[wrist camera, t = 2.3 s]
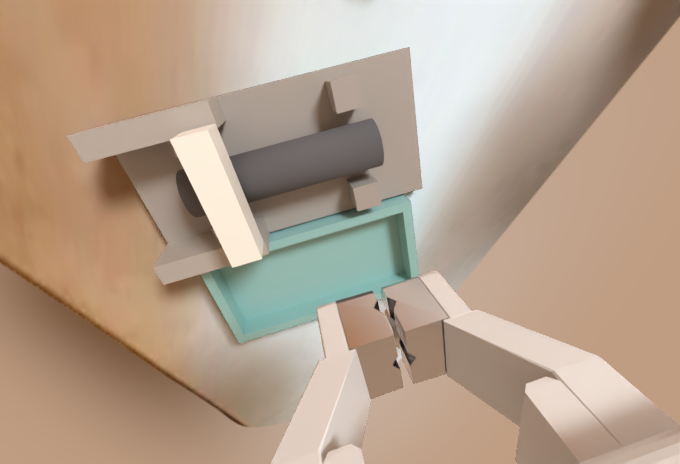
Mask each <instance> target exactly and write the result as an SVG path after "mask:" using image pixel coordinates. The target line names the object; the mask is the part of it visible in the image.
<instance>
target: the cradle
mask: <svg viewBox="0 0 680 464" xmlns="http://www.w3.org/2000/svg"><path fill="white" fill-rule="evenodd" d="M370 118H372V119H373V120H374V121H375V123H376V124H377V127H378V129H379V132H380V135H381V139H382V143H383V150H384V162H383V165H382V166H379V167H375V168H372V169H368V170H365V171H361V172H357V173H354V174H350V175H347V176H343V177H340V178H336V179H333V180H329V181H326V182H322V183H318V184H315V185H311V186H308V187H304V188H301V189H297V190H294V191H290V192H287V193H283V194H279V195H276V196H272V197H269V198H265V199H262V200H258V201H255V202H251V203H248V205H249V207H250V210H251V212H252V214H253V217H254V219H255V222H256V224H257V227H258V229H259V232H260V234H261V237H262V239H263V254H262V256H264V255H267V254H269V236H270V232H273V231H277V230H280V229H284V228H287V227H290V226H294V225H297V224H301V223H304V222H308V221H311V220H315V219H318V218H321V217H325V216H328V215H332V214H335V213H339V212H342V211H346V210H349V209H353V208H356V209H357V211H362V210H365V209H368V208H372V207H375V206H379V205H382V204H381V200H384V199H387V198H390V197H394V196H397V195H401V194H404V193H408V192H411V191H415V190H418V189H421V188H422V180H421V169H420V158H419V147H418V136H417V125H416V114H415V103H414V92H413V81H412V70H411V59H410V48H409V47H408V48H403V49H399V50H396V51H392V52H388V53H384V54H380V55H376V56H372V57H368V58H364V59H360V60H356V61H352V62H349V63H345V64H341V65H337V66H333V67H329V68H325V69H321V70H317V71H313V72H309V73H305V74H302V75H298V76H294V77H290V78H286V79H282V80H278V81H274V82H270V83H266V84H262V85H258V86H255V87H251V88H247V89H243V90H239V91H235V92H231V93H227V94H223V95H219V96H215V97H211V98H207V99H204V100H200V101H196V102H192V103H188V104H184V105H180V106H176V107H172V108H168V109H164V110H160V111H157V112H153V113H149V114H145V115H141V116H137V117H133V118H129V119H125V120H121V121H117V122H113V123H110V124H106V125H102V126H99V127H95V128H92V129H88V130H85V131H81V132H78V133H75V134H71V135H68V136H67V138H68V139H69V141H70V142H71V144H72V145H73V147H74V148H75V150H76V151H77V153H78V154H79V156H80V158H81V159H82V161H83V162H84V163H87V162H90V161H94V160H98V159H102V158H106V157H109V156H113V155H116V157H117V159H118V160H119V162H120V164H121V165H122V167H123V169H124V170H125V172H126V174H127V175H128V177H129V179H130V181H131V182H132V184H133V186H134V187H135V189H136V191H137V192H138V194H139V196H140V197H141V199H142V201H143V202H144V204H145V206H146V208H147V209H148V211H149V213H150V214H151V216H152V218H153V219H154V221H155V223H156V224H157V226H158V228H159V229H160V231H161V233H162V235H163V236H164V238H165V240H166V241H167V243H168V244H167V246H166V247H165V249H164V251H163V252H162V254H161V255H160V257H159V259H158V260H157V262H156V263H155V265H154V267H153V269H154V271H155V272H156V274H157V275H158V277H159V279H160V280H161V282H162V283H163V285H166V284H169V283H173V282H176V281H179V280H183V279H186V278H189V277H193V276H196V275H200V274H203V273H206V272H210V271H213V270H217V269H220V268H223V267H227V266H230V265H231V264H230V262H229V260H228V258H227V256H226V254H225V252H224V250H223V248H222V246H221V244H220V242H219V239H218V237H217V235H216V233H215V231H214V229H213V227H212V225H211V223H210V221H209V219H208V217H207V215H205V216H201V217H198V218H196V217H194V216H192V215H191V214H190V213H189V211H188V210H187V209H186V207H185V205H184V204H183V202H182V200H181V197H180V195H179V192H178V188H177V184H176V173H177V171H178V170H181V169H184V168H183V166H182V164H181V162H180V160H179V158H178V156H177V154H176V152H175V150H174V148H173V146H172V144H171V142H170V139H172V138H173V137H175V136H177V135H178V134H180V133H181V132H184V131H188V130H192V129H196V128H200V127H203V126H207V125H211V124H215V123H216V126H217V128H218V131H219V133H220V136H221V138H222V141H223V143H224V145H225V148H226V150H227V153H228V155H229V156H233V155H237V154H240V153H244V152H248V151H252V150H255V149H259V148H263V147H266V146H270V145H274V144H278V143H281V142H285V141H289V140H292V139H296V138H300V137H303V136H307V135H311V134H315V133H318V132H322V131H326V130H329V129H333V128H337V127H340V126H344V125H348V124H352V123H355V122H359V121H363V120H366V119H370Z"/></svg>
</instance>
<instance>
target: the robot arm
mask: <svg viewBox="0 0 680 464" xmlns="http://www.w3.org/2000/svg"><path fill="white" fill-rule="evenodd" d="M381 296H382V300H383V302H384V305H385V307H386V310H385V315H384V313H382V312H380V310H379V305H378V301H377V298H376V296H375V294H374V292H373V291H369V292H365V293H362V294H358V295H355V296H351V297H348V298H344V299H341V300H337V301H336V302H331V303H328V304H324V305H321V306H317V309H316V312H317V317H318V323H319V328H320V334H321V339H322V345H323V350H324V355H325V359H322V360H319V362H318V364H317V366H316V368H315V370H314V372H313V374H312V376H311V379H310V381H309V383H308V385H307V387H306V389H305V391H304V394H303V396H302V398H301V400H300V402H299V404H298V406H297V408H296V411H295V413H294V415H293V417H292V419H291V421H290V424H289V426H288V428H287V430H286V432H285V434H284V436H283V438H282V440H281V443H280V445H279V447H278V449H277V451H276V453H275V456H274V458H273V460H272V462H271V464H366V462H365V460H364V457H363V454H362V452H361V447H362V442H363V438H364V433H365V428H366V423H367V419H368V414H369V410H370V405H371V399H373V398H375V397H378V396H381V395H384V394H386V393H389V392H392V391H394V390H397V389H400V388H403V382H402V377H401V371H400V368H399V366H398V363H397V361H396V358H397V356H398V355H397V350H396V347H398V348H400V350H401V355H402V360H403V363H404V365H405V367H406V369H407V371H408V373H409V375H410V378H411V380H412V382H413V384H415V383H418V382H421V381H424V380H427V379H431V378H434V377H438V376H441V375H444V374H447V376H448V377H450V378H451V379H453V380H454V381H456V382H457V383H458V384H460V385H461V386H463V387H464V388H465V389H467V390H468V391H470V392H471V393H472V394H474V395H475V396H477V397H478V398H480V399H481V400H482V401H484V402H485V403H487V404H488V405H489V406H491V407H492V408H494V409H495V410H497V411H498V412H499V413H501V414H502V415H504V416H505V417H507V418H508V419H509V420H511V421H512V422H514V423H515V424H516V425H518V426H519V427H520V429H519V436H518V444H517V450H516V458H515V460H516V462H517V463H518V464H680V426H679V425H678V424H677V423H676V422H675V421H674V420H672V419H671V418H670V417H669V416H668V415H666V414H665V413H664V412H663V411H662V410H661V409H659V408H658V407H657V406H656V405H655V404H654V403H653V402H651V401H650V400H649V399H648V398H647V397H646V396H644V395H643V394H642V393H641V392H640V391H639V390H637V389H636V388H635V387H634V386H633V385H632V384H630V383H629V382H628V381H627V380H626V379H625V378H624V377H622V376H621V375H620V374H619V373H618V372H617V371H615V370H614V369H613V368H612V367H611V366H610V365H608V364H607V363H606V362H605V361H604V360H602V359H601V358H600V357H598V356H596V355H594V354H591V353H589V352H586V351H583V350H581V349H578V348H576V347H573V346H571V345H568V344H565V343H563V342H560V341H557V340H555V339H553V338H550V337H547V336H545V335H542V334H540V333H537V332H535V331H532V330H529V329H527V328H524V327H522V326H519V325H517V324H514V323H511V322H509V321H506V320H504V319H501V318H499V317H496V316H494V315H491V314H488V313H486V312H483V311H481V310H474V311H471V310H470V308H469V307H468V306H467V305H466V304H465V303H464V301H463V300H462V299H461V298H460V297H459V296H458V294H457V293H456V292H455V291H454V290H453V289H452V287H451V286H450V285H449V284H448V283H447V282H446V280H445V279H444V278H443V277H442V276H441V275H440V274H439V272H437V271H435V270H433V271H430V272H427V273H424V274H421V275H418V276H417V277H413V278H410V279H407V280H404V281H401V282H398V283H394V284H391V285H388V286H385V287H382V288H381ZM336 304H337V305H336ZM385 316H386V318H385Z"/></svg>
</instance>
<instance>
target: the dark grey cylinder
mask: <svg viewBox="0 0 680 464" xmlns="http://www.w3.org/2000/svg"><path fill="white" fill-rule="evenodd" d="M229 158H230V160H231V163H232V165H233V168H234V170H235V173H236V175H237V177H238V180H239V182H240V185H241V187H242V190H243V192H244V195H245V197H246V200H247V202H248V203H251V202H255V201H258V200H262V199H265V198H269V197H272V196H276V195H279V194H283V193H287V192H290V191H294V190H297V189H301V188H304V187H308V186H311V185H315V184H318V183H322V182H326V181H329V180H333V179H336V178H340V177H343V176H347V175H350V174H354V173H357V172H361V171H365V170H368V169H372V168H375V167H379V166H382V165H383V162H384V150H383V143H382V139H381V135H380V132H379V129H378V127H377V124H376V123H375V121H374V120H373V119H372V118H370V119H366V120H363V121H359V122H355V123H352V124H348V125H344V126H340V127H337V128H333V129H329V130H326V131H322V132H318V133H315V134H311V135H307V136H303V137H300V138H296V139H292V140H289V141H285V142H281V143H278V144H274V145H270V146H266V147H263V148H259V149H255V150H252V151H248V152H244V153H240V154H237V155H233V156H229ZM176 184H177V188H178V192H179V195H180V197H181V200H182V202H183V204H184V205H185V207H186V209H187V210H188V211H189V213H190V214H191V215H192V216H194V217H196V218H198V217H201V216H205V215H206V213H205V211H204V209H203V207H202V205H201V203H200V201H199V199H198V197H197V195H196V193H195V191H194V189H193V187H192V184H191V182H190V180H189V178H188V176H187V174H186V172H185V170H184V169H181V170H178V171H177V173H176Z"/></svg>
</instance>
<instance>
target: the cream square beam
mask: <svg viewBox="0 0 680 464" xmlns="http://www.w3.org/2000/svg"><path fill="white" fill-rule="evenodd" d="M170 142H171V144H172V146H173V148H174V150H175V152H176V154H177V156H178V158H179V160H180V162H181V164H182V166H183V168H184V170H185V172H186V174H187V176H188V178H189V180H190V182H191V184H192V187H193V189H194V191H195V193H196V195H197V197H198V199H199V201H200V203H201V205H202V207H203V209H204V211H205V213H206V215H207V217H208V219H209V221H210V223H211V225H212V227H213V229H214V231H215V233H216V235H217V237H218V239H219V242H220V244H221V246H222V248H223V250H224V252H225V254H226V256H227V258H228V260H229V262H230V264H231V266H232V268H233V267H237V266H240V265H244V264H247V263H250V262H254V261H257V260H260V259H262V254H263V239H262V237H261V234H260V232H259V229H258V227H257V224H256V222H255V219H254V217H253V214H252V212H251V210H250V207H249V205H248V202H247V200H246V197H245V195H244V192H243V190H242V187H241V185H240V182H239V180H238V177H237V175H236V173H235V170H234V168H233V165H232V163H231V160H230V158H229V155H228V153H227V150H226V148H225V145H224V143H223V141H222V138H221V136H220V133H219V131H218V128H217V126H216V123H215V124H211V125H207V126H203V127H200V128H196V129H192V130H188V131H184V132H181V133H180V134H178V135H177V136H175V137H173V138H172V139H170Z"/></svg>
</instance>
